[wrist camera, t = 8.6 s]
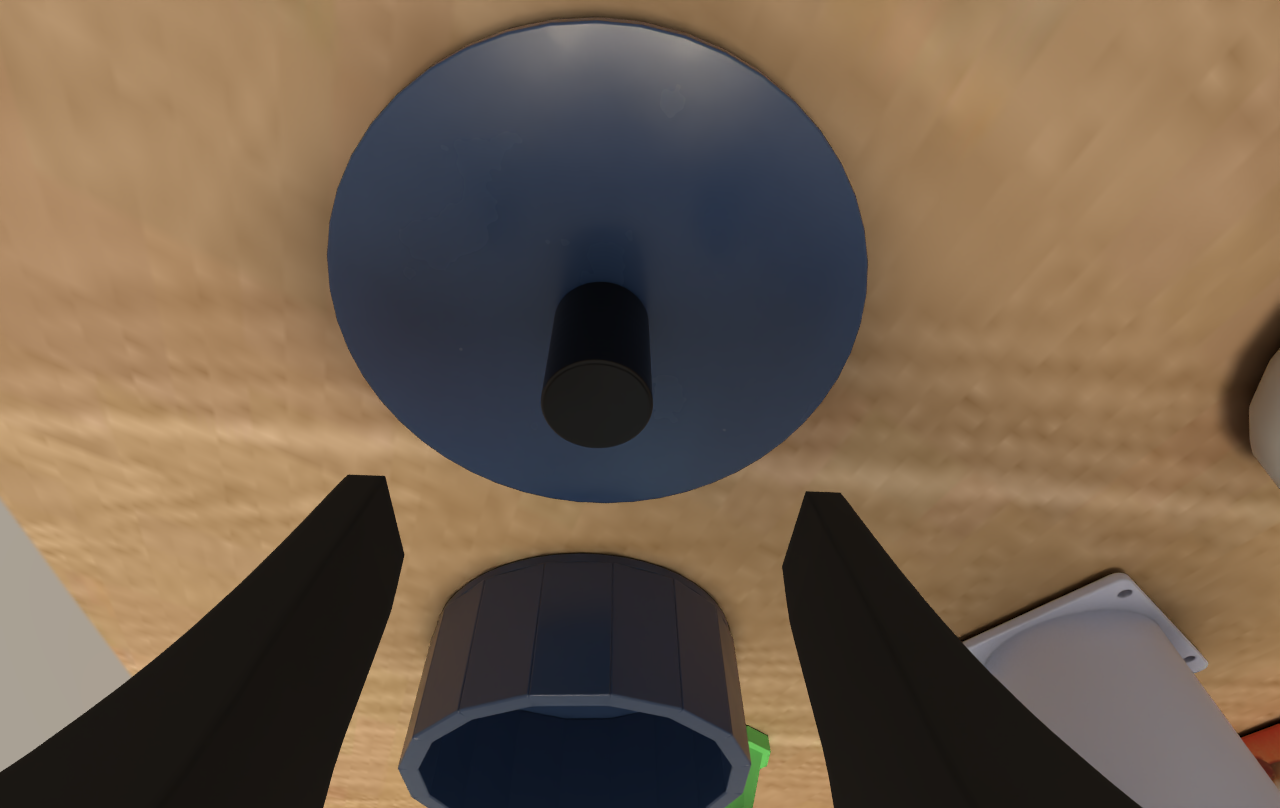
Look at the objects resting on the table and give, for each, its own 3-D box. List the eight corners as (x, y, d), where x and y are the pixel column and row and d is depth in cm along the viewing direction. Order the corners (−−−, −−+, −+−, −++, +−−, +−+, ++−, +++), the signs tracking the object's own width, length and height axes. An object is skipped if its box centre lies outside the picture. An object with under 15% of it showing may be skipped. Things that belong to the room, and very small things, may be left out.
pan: (785, 598, 26) (816, 737, 22) (655, 734, 33) (660, 859, 28) (480, 517, 23) (447, 662, 18) (409, 687, 30) (373, 820, 25)
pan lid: (968, 170, 15) (1073, 254, 12) (708, 521, 23) (724, 638, 19) (398, -122, 12) (298, -130, 8) (312, 405, 19) (240, 522, 16)
